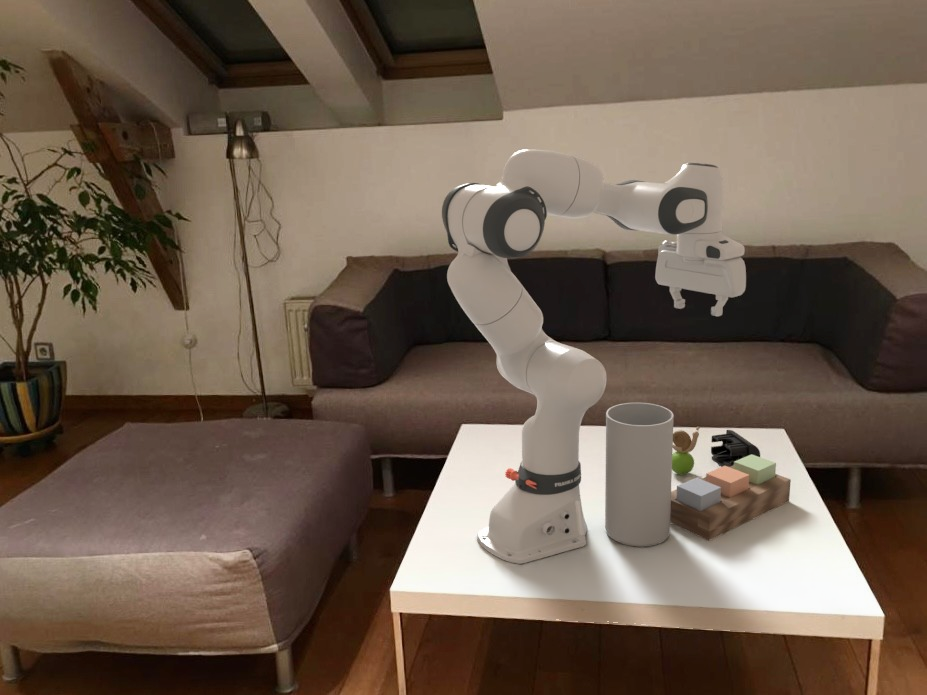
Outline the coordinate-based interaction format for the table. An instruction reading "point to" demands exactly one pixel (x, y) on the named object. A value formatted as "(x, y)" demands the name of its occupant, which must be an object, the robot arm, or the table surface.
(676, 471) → the snail figurine
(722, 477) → the terracotta key
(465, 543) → the table surface
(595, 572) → the table surface
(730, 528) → the key panel
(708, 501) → the slate key
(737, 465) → the sage key
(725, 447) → the end cap
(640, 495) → the cylinder vase
